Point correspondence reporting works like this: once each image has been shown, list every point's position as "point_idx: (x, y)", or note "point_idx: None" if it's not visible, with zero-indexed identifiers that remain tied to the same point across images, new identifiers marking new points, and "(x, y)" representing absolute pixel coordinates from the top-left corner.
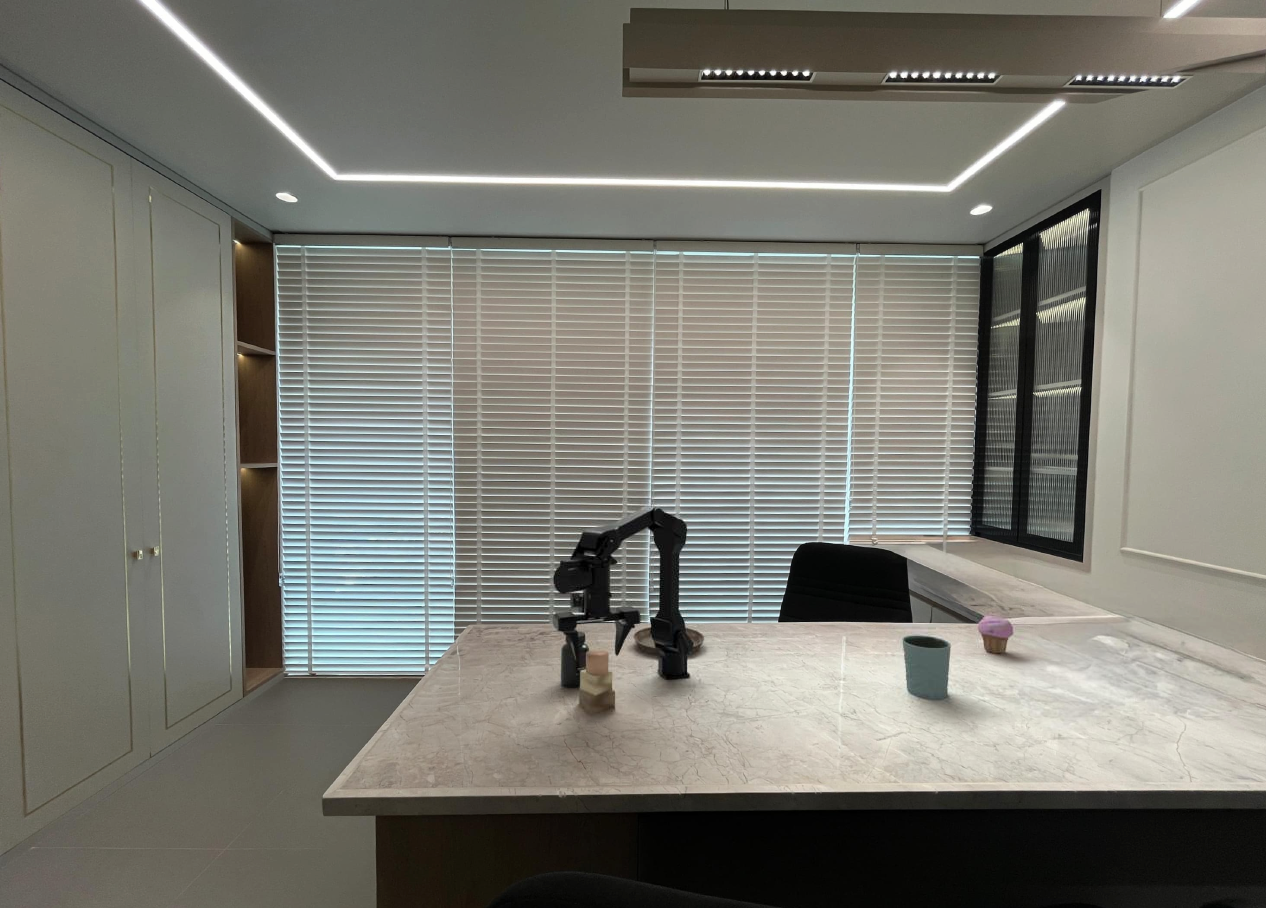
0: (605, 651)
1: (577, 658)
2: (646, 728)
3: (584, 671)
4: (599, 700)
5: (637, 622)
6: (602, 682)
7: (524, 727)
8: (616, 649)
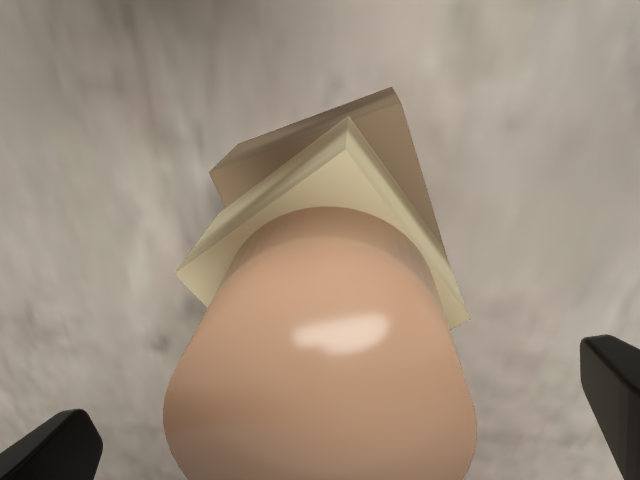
0: (441, 396)
1: (87, 470)
2: (531, 433)
3: (213, 293)
4: None
5: None
6: None
7: (21, 353)
8: (621, 445)
